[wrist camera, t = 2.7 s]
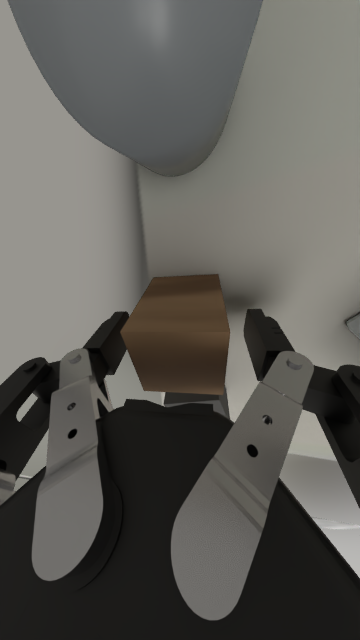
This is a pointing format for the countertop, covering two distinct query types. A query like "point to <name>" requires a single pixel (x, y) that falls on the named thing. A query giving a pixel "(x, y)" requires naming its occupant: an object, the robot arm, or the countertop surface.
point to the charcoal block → (199, 400)
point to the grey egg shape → (143, 70)
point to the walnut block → (180, 335)
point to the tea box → (354, 325)
